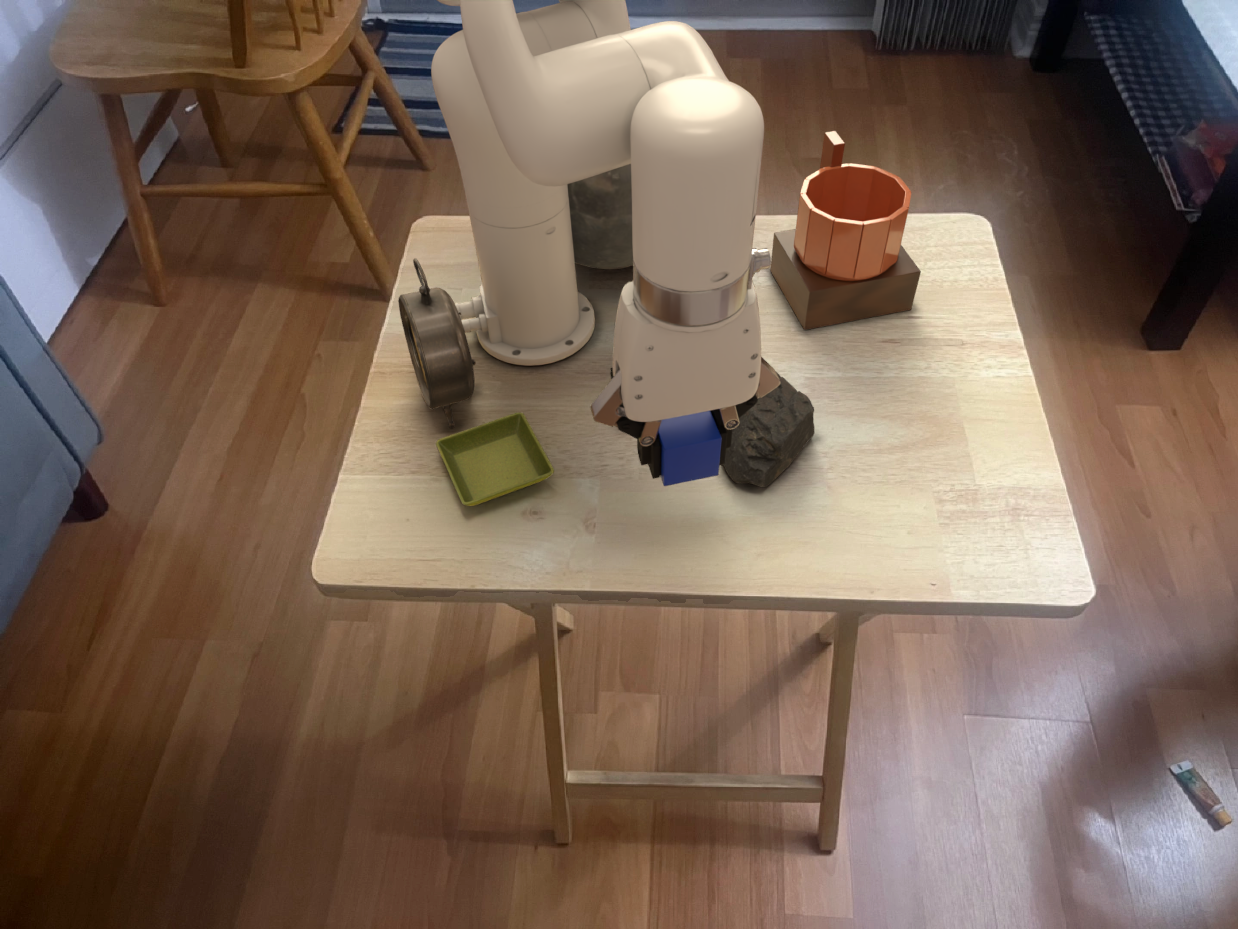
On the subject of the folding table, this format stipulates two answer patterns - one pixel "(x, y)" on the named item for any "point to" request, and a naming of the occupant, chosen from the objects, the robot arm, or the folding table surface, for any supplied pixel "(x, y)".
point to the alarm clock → (437, 346)
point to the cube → (689, 448)
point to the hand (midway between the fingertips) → (683, 456)
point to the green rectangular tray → (494, 459)
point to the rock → (770, 436)
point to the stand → (840, 288)
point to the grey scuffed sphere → (602, 219)
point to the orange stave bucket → (850, 217)
